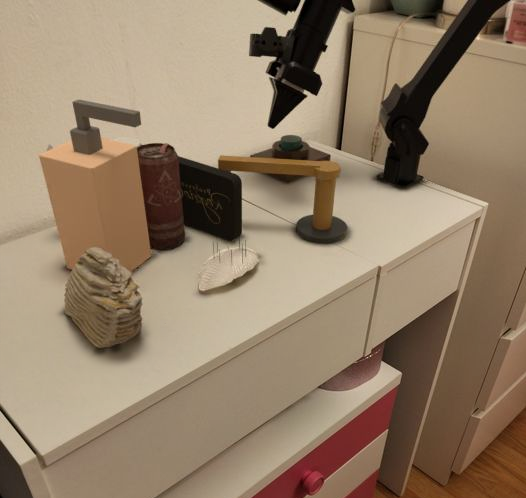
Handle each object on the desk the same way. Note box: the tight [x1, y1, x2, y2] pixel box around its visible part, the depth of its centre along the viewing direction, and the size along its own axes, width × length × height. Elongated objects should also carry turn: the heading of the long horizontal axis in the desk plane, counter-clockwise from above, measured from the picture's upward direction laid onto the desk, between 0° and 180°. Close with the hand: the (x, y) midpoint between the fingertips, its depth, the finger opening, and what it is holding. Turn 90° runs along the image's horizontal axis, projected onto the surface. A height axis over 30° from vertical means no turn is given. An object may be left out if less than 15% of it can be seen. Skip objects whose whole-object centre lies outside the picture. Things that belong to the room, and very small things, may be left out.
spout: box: [217, 154, 342, 180], centre depth 82 cm, size 18×4×3 cm, turn 83°
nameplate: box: [141, 144, 243, 242], centre depth 86 cm, size 21×2×10 cm, turn 55°
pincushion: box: [198, 234, 260, 292], centre depth 75 cm, size 12×6×6 cm, turn 144°
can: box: [137, 142, 186, 250], centre depth 80 cm, size 6×6×14 cm
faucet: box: [295, 178, 348, 245], centre depth 84 cm, size 8×8×9 cm
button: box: [280, 134, 303, 150], centre depth 104 cm, size 4×4×2 cm
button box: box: [249, 139, 331, 183], centre depth 106 cm, size 12×10×4 cm
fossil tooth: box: [63, 247, 143, 349], centre depth 64 cm, size 12×6×15 cm
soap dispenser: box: [38, 99, 152, 273], centre depth 71 cm, size 13×9×22 cm
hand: (270, 127), depth 93 cm, fingers closed
